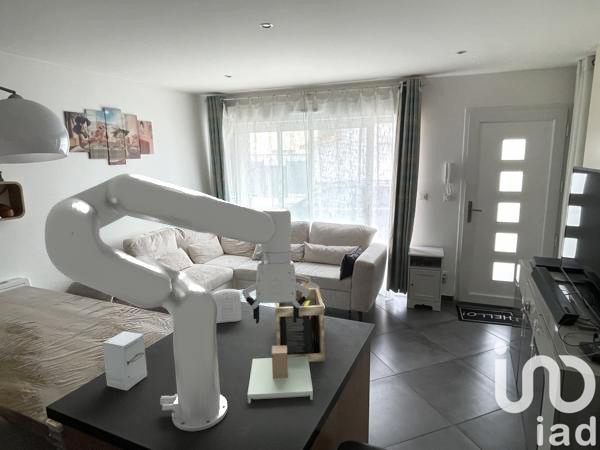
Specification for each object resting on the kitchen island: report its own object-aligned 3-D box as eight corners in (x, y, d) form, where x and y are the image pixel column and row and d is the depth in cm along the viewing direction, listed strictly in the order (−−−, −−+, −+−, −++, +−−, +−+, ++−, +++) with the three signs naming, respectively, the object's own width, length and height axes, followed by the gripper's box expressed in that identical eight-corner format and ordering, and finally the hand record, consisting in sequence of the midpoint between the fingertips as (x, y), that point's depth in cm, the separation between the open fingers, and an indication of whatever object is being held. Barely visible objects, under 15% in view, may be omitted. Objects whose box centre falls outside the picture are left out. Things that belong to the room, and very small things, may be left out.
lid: (247, 403, 88) (246, 368, 86) (253, 366, 104) (251, 336, 103) (312, 400, 89) (312, 364, 87) (308, 364, 105) (307, 333, 103)
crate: (277, 363, 105) (275, 308, 103) (277, 337, 121) (276, 289, 118) (324, 361, 106) (324, 306, 103) (319, 336, 122) (318, 288, 119)
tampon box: (311, 359, 107) (310, 312, 105) (281, 356, 109) (279, 311, 107) (316, 341, 118) (316, 299, 116) (289, 339, 120) (288, 297, 117)
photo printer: (241, 317, 139) (239, 286, 137) (242, 321, 135) (240, 290, 133) (214, 319, 137) (212, 288, 135) (213, 324, 133) (211, 292, 131)
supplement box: (127, 391, 94) (122, 346, 92) (106, 386, 96) (101, 342, 94) (148, 376, 100) (144, 333, 98) (128, 371, 103) (123, 330, 101)
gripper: (240, 260, 87) (241, 327, 89) (311, 260, 88) (310, 326, 90) (243, 253, 94) (244, 316, 97) (308, 253, 95) (308, 315, 97)
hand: (276, 321), depth 93 cm, fingers open, 9 cm apart
